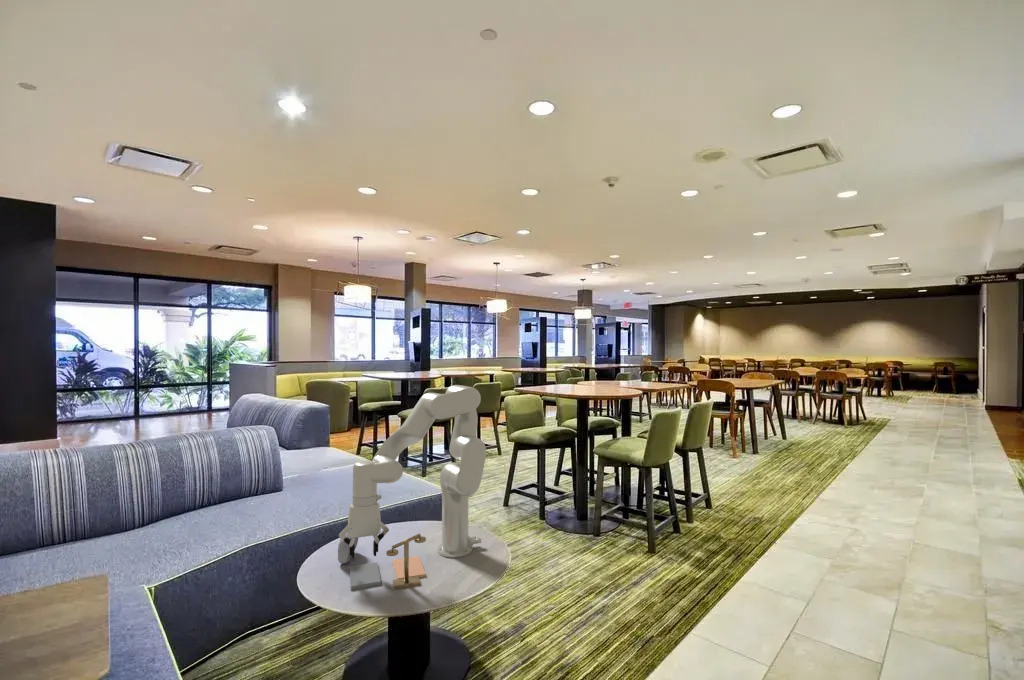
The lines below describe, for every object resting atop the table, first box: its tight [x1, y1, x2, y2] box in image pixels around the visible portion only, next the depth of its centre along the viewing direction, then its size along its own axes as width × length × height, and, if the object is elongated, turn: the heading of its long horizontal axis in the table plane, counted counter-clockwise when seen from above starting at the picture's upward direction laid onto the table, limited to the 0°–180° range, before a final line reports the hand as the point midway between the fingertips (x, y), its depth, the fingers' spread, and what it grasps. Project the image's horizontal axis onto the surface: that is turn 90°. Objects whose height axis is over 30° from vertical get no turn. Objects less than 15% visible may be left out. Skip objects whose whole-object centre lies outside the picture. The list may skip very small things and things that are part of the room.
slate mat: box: [349, 561, 382, 591], centre depth 155 cm, size 9×14×1 cm, turn 20°
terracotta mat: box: [392, 555, 427, 580], centre depth 160 cm, size 9×14×1 cm, turn 20°
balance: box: [385, 533, 427, 591], centre depth 150 cm, size 12×4×16 cm, turn 110°
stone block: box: [337, 532, 360, 565], centre depth 168 cm, size 12×5×10 cm, turn 0°
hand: (363, 555), depth 155 cm, fingers open, 6 cm apart
